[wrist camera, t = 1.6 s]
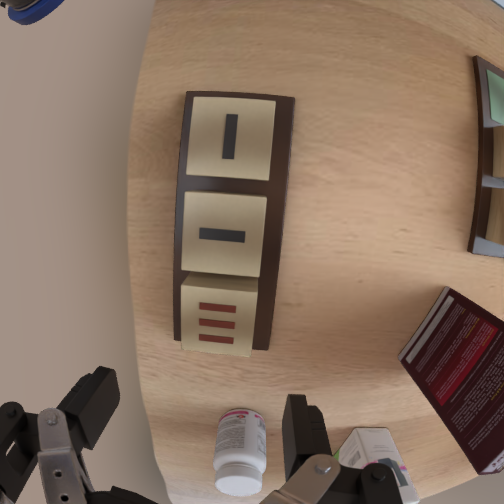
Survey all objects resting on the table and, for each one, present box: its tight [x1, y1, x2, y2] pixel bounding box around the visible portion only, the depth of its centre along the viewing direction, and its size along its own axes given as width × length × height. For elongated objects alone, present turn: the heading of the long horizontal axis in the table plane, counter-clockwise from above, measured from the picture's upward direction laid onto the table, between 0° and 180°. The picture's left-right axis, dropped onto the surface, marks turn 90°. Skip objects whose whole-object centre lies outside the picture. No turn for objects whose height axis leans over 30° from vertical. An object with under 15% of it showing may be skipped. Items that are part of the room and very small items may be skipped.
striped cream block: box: [181, 271, 258, 357], centre depth 21 cm, size 5×5×4 cm
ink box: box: [333, 428, 420, 504], centre depth 21 cm, size 9×5×15 cm, turn 163°
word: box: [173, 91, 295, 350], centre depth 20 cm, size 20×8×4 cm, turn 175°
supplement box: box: [398, 286, 504, 475], centre depth 16 cm, size 9×5×16 cm, turn 151°
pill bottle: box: [213, 409, 266, 496], centre depth 23 cm, size 5×5×8 cm
